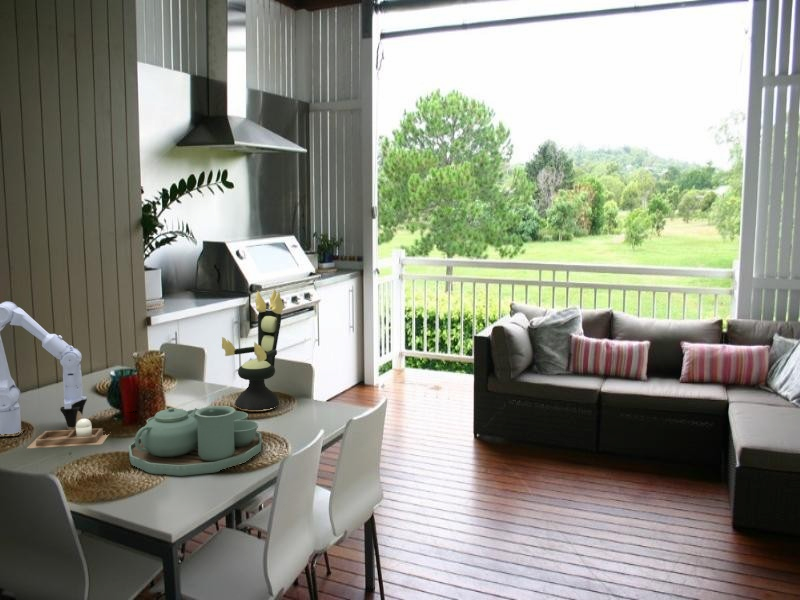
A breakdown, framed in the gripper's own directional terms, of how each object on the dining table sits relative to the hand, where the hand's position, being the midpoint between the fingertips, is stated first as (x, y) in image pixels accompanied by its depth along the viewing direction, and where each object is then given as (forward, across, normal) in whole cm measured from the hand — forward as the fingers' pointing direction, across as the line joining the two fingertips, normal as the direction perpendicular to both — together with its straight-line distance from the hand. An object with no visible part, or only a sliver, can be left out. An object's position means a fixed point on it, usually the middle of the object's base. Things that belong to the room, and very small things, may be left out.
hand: (74, 423), depth 226 cm
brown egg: (+2, 0, 0) cm, 2 cm away
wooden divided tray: (+2, -13, -2) cm, 13 cm away
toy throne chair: (+2, +18, -62) cm, 65 cm away
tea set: (+2, -30, -43) cm, 52 cm away
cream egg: (+1, -13, -6) cm, 14 cm away
